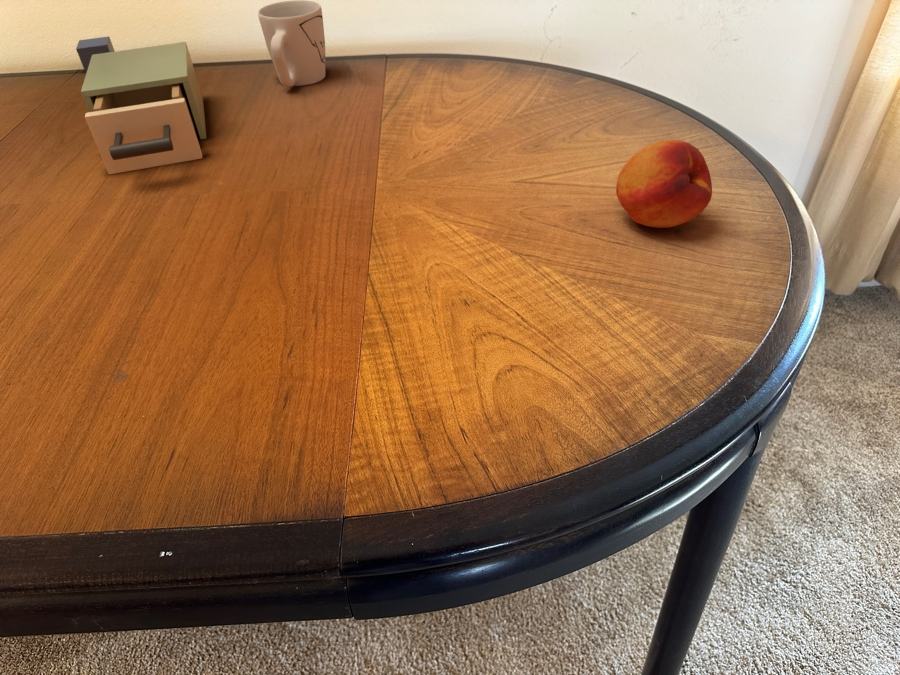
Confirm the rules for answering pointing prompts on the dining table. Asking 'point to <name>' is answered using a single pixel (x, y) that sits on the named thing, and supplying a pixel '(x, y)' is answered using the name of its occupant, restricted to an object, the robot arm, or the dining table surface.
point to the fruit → (665, 184)
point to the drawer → (144, 128)
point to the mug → (295, 40)
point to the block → (93, 49)
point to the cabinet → (145, 75)
